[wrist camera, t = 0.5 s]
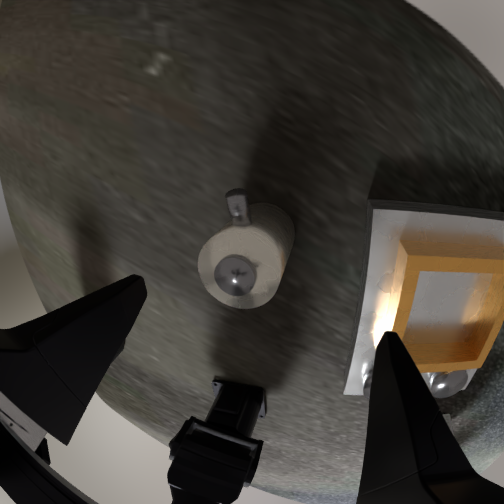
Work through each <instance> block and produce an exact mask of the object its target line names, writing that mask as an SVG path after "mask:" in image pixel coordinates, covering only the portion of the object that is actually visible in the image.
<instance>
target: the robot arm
mask: <svg viewBox="0 0 504 504" xmlns="http://www.w3.org/2000/svg"><path fill="white" fill-rule="evenodd" d="M146 298H147V289H146V286H145V282H144V278H143V277H142V276H139V275H135V274H133V275H130V276H128V277H126V278H124V279H121V280H119V281H117V282H115V283H112V284H110V285H108V286H106V287H104V288H101V289H99V290H97V291H95V292H93V293H90V294H88V295H86V296H84V297H82V298H80V299H78V300H75V301H73V302H71V303H69V304H67V305H65V306H63V307H61V308H58V309H56V310H54V311H52V312H50V313H48V314H45V315H43V316H41V317H39V318H36V319H33V320H31V321H28V322H26V323H23V324H21V325H18V326H16V327H13V328H10V329H0V486H1V487H2V488H3V489H4V491H5V492H6V493H7V494H8V495H9V496H10V498H11V499H12V500H13V501H14V502H15V503H16V504H98V503H97V502H95V501H94V500H92V499H91V498H90V497H88V496H87V495H85V494H84V493H82V492H81V491H80V490H78V489H77V488H76V487H74V486H73V485H72V484H70V483H69V482H68V481H67V480H65V479H64V478H63V477H62V476H61V475H59V474H58V473H57V472H56V471H55V470H53V469H52V468H51V467H50V466H49V465H50V463H51V462H50V457H49V451H48V445H47V439H46V438H45V435H46V434H47V432H48V433H49V434H51V435H52V436H53V437H55V438H56V439H58V440H59V441H60V442H62V443H63V444H65V445H66V446H67V445H68V443H69V442H70V440H71V438H72V435H73V433H74V431H75V429H76V427H77V425H78V423H79V421H80V419H81V418H82V416H83V413H84V412H85V410H86V407H87V406H88V404H89V402H90V400H91V398H92V396H93V395H94V393H95V391H96V389H97V387H98V386H99V384H100V382H101V380H102V378H103V377H104V375H105V373H106V371H107V369H108V368H109V366H110V364H111V362H112V361H113V359H114V357H115V356H116V354H117V352H118V350H119V349H120V347H121V345H122V344H123V342H124V340H125V339H126V337H127V335H128V334H129V332H130V330H131V328H132V326H133V325H134V323H135V320H136V318H137V316H138V314H139V312H140V310H141V308H142V306H143V304H144V302H145V300H146ZM212 387H213V391H214V395H215V401H214V403H213V405H212V407H211V409H210V411H209V413H208V415H207V417H206V419H205V421H202V420H199V419H197V418H196V417H194V416H191V417H190V419H189V420H186V421H185V423H184V424H183V426H182V428H181V430H180V431H179V432H178V433H177V434H176V436H175V437H174V438H173V439H172V440H171V441H170V443H169V447H170V449H171V450H170V456H169V459H170V460H172V464H171V466H170V468H169V470H168V474H167V478H168V484H169V485H170V489H171V494H172V498H173V501H172V504H231V503H232V502H234V501H235V500H236V499H238V497H239V495H240V492H241V490H242V487H243V486H244V487H249V485H250V484H251V482H252V480H253V477H254V475H255V472H256V469H257V466H258V462H259V458H260V454H261V450H262V446H263V442H264V441H262V440H256V439H253V438H251V436H252V433H253V430H254V427H255V424H256V421H257V418H265V415H266V412H265V395H264V389H263V388H260V387H254V386H248V385H242V384H236V383H230V382H225V381H220V380H213V381H212ZM356 504H504V488H503V487H501V486H499V485H497V484H495V483H493V482H491V481H489V480H487V479H485V478H483V477H481V476H480V475H479V474H478V473H477V472H476V471H475V470H474V469H473V468H472V466H471V464H470V463H469V461H468V459H467V457H466V456H465V454H464V452H463V451H462V449H461V447H460V446H459V444H458V442H457V441H456V439H455V437H454V435H453V434H452V432H451V430H450V428H449V426H448V424H447V422H446V420H445V419H444V417H443V414H442V412H441V411H439V407H438V405H437V403H436V401H435V399H434V397H433V395H432V393H431V391H430V389H429V388H428V386H427V384H426V382H425V380H424V378H423V377H422V375H421V373H420V371H419V369H418V368H417V366H416V364H415V362H414V361H413V359H412V357H411V355H410V354H409V352H408V350H407V349H406V347H405V345H404V343H403V342H402V340H401V338H400V337H399V335H398V334H397V333H396V332H393V331H385V332H384V333H383V335H382V337H381V339H380V341H379V343H378V345H377V347H376V351H375V359H374V367H373V374H372V380H371V387H370V398H369V414H368V426H367V437H366V446H365V454H364V461H363V468H362V475H361V481H360V487H359V492H358V497H357V502H356Z"/></svg>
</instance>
